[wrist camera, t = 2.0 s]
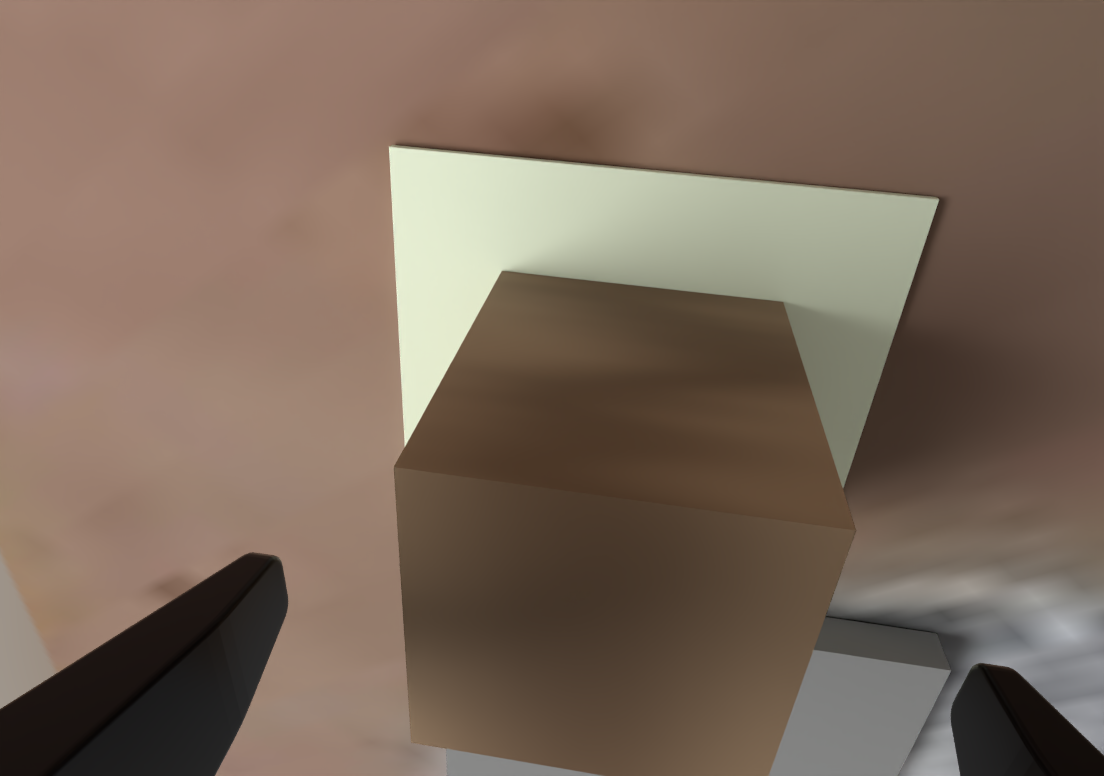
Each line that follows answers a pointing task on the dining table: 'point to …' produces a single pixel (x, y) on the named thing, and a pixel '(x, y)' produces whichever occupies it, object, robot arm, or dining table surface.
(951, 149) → the dining table surface
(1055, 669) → the dining table surface
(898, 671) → the slate board
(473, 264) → the pale cream tile
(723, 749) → the block
